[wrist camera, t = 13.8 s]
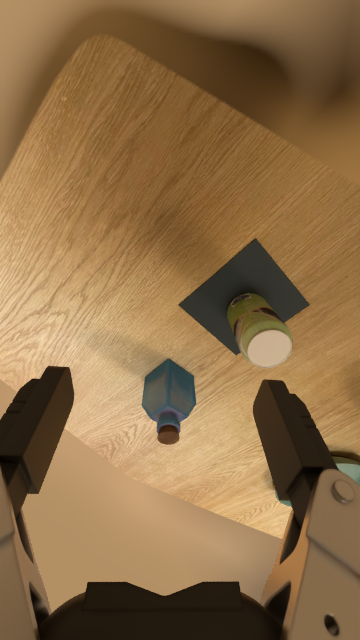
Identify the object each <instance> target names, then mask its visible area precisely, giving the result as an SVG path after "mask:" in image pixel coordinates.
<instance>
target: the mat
mask: <svg viewBox="0 0 360 640" xmlns="http://www.w3.org/2000/svg"><path fill="white" fill-rule="evenodd" d="M246 293H254V294H257V295H260V296H261V297H262V298H264V299H265V301H266V302H267V303H268V304H269V305H270V307H271V308H272V309H273V310H274V311H275V313H276V314H277V315H278V316H279V317H280V319H281V320H282V321H283V322H286V321H287V320H288V319H290V318H291V317H293V316H294V315H296V314H297V313H299V312H300V311H302V310H303V309H305V308H306V307H307V306H309V303H308V302H307V301H306V300H305V298H304V297H303V296H302V295H301V293H300V292H299V291H298V290H297V289H296V287H295V286H294V285H293V284H292V282H291V281H290V280H289V279H288V277H287V276H286V275H285V274H284V273H283V271H282V270H281V269H280V268H279V266H278V265H277V264H276V263H275V262H274V260H273V259H272V258H271V257H270V255H269V254H268V253H267V252H266V250H265V249H264V248H263V247H262V246H261V244H260V243H259V242H258V241H257V239H254V240H253V241H252V242H251V243H250V244H249V245H248V246H246V247H245V248H244V249H243V250H242V251H241V252H239V253H238V254H237V255H236V256H235V257H234V258H232V259H231V260H230V261H229V262H228V263H227V264H226V265H224V266H223V267H222V268H221V269H220V270H219V271H217V272H216V273H215V274H214V275H213V276H212V277H210V278H209V279H208V280H207V281H206V282H205V283H204V284H202V285H201V286H200V287H199V288H198V289H197V290H195V291H194V292H193V293H192V294H191V295H190V296H188V297H187V298H186V299H185V300H184V301H183V302H182V303H180V304H179V306H180V307H181V308H182V309H184V310H185V311H186V312H187V313H188V314H189V315H190V316H192V317H193V318H194V319H195V320H196V321H197V322H199V323H200V324H201V325H202V326H203V327H204V328H205V329H207V330H208V331H209V332H210V333H211V334H212V335H213V336H215V337H216V338H217V339H218V340H219V341H220V342H222V343H223V344H224V345H225V346H226V347H227V348H228V349H230V350H231V351H232V352H233V353H234V354H235V355H237V354H239V353H240V349H239V346H238V344H237V341H236V339H235V336H234V333H233V331H232V328H231V326H230V323H229V320H228V317H227V311H228V307H229V305H230V303H231V302H232V301H233V300H234V299H235V298H236V297H238V296H240V295H242V294H246Z"/></svg>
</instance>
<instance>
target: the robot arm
mask: <svg viewBox="0 0 360 640" xmlns="http://www.w3.org/2000/svg"><path fill="white" fill-rule="evenodd" d="M73 401H74V389H73V384H72V378H71V372H70V368H69V367H57V366H48V367H47V368H46V369H45V371H44V373H43V375H42V376H41V378H40V379H31V380H30V381H29V382H28V383H26V384H25V385H24V386H23V387H22V388H20V390H19V391H18V393H17V394H16V396H15V398H14V399H13V402H12V403H11V404H10V406H9V407H8V409H7V410H6V413H5V414H4V415H3V416H2V418H1V420H0V640H360V486H359V485H358V484H357V483H356V482H355V481H354V480H353V479H352V478H351V477H350V476H348V475H347V474H345V473H343V472H341V471H340V470H339V469H338V467H337V465H336V463H335V461H334V459H333V458H332V456H331V454H330V452H329V450H328V448H327V446H326V444H325V442H324V440H323V438H322V436H321V434H320V432H319V430H318V429H317V428H316V425H315V423H314V421H313V419H312V418H311V415H310V413H309V411H308V409H307V407H306V405H305V404H304V403H303V402H302V401H301V400H300V399H299V398H298V397H297V396H296V394H290V393H289V391H288V389H287V387H286V385H285V383H284V382H283V381H282V380H263V381H262V383H261V386H260V388H259V391H258V393H257V396H256V398H255V401H254V404H253V415H254V419H255V423H256V426H257V429H258V433H259V436H260V439H261V443H262V446H263V449H264V452H265V456H266V459H267V462H268V466H269V469H270V472H271V476H272V479H273V482H274V486H275V489H276V492H277V496H278V499H279V501H290V502H291V505H292V508H293V510H292V511H291V513H290V517H289V520H288V523H287V526H286V530H285V533H284V536H283V540H282V543H281V546H280V549H279V553H278V556H277V559H276V563H275V565H274V568H273V570H272V572H271V574H270V576H269V578H268V580H267V583H266V585H265V588H264V590H263V593H262V597H261V599H260V603H258V602H257V601H256V600H254V599H253V598H251V597H250V596H247V595H246V594H244V593H242V592H240V586H239V582H201V583H199V584H196V585H194V586H191V587H188V588H186V589H183V590H181V591H178V592H176V593H173V594H171V595H167V596H162V595H159V594H156V593H153V592H151V591H148V590H146V589H143V588H141V587H138V586H135V585H133V584H130V583H128V582H88V583H87V588H86V592H84V593H82V594H79V595H77V596H75V597H73V598H72V599H70V600H68V601H67V602H65V603H64V604H62V605H61V606H60V607H59V608H57V609H56V610H55V611H54V612H53V613H51V609H50V606H49V602H48V598H47V594H46V591H45V587H44V584H43V581H42V578H41V576H40V573H39V571H38V567H37V564H36V561H35V557H34V553H33V549H32V545H31V542H30V538H29V534H28V531H27V526H26V523H25V519H24V515H23V511H22V505H23V503H24V500H25V498H26V496H27V494H39V491H40V489H41V486H42V483H43V481H44V478H45V476H46V473H47V471H48V468H49V466H50V463H51V460H52V457H53V455H54V453H55V450H56V448H57V444H58V442H59V440H60V437H61V434H62V432H63V430H64V427H65V424H66V422H67V419H68V417H69V414H70V412H71V409H72V406H73Z"/></svg>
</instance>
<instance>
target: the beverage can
mask: <svg viewBox="0 0 360 640" xmlns="http://www.w3.org/2000/svg"><path fill="white" fill-rule="evenodd" d="M227 317H228V320H229V323H230V326H231V328H232V331H233V333H234V336H235V339H236V341H237V344H238V346H239V349H240V352H241V354H242V355H243V357H244V358H245V359H246V360H247V361H248V362H250V363H252V364H254V365H256V366H258V367H261V368H273V367H276V366H279V365H280V364H282V363H283V362H285V361H286V360H287V359H288V357H289V356H290V353H291V350H292V334H291V332H290V330H289V328H288V327H287V326H286V325H285V323H284V322H283V321H282V320H281V319H280V317H279V316H278V315H277V314H276V313H275V311H274V310H273V309H272V308H271V307H270V305H269V304H268V303H267V302H266V301H265V299H264V298H262V297H261V296H260V295H257V294H254V293H246V294H242V295H240V296H238V297H236V298H235V299H234V300H233V301H232V302H231V303H230V305H229V307H228V311H227Z"/></svg>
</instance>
